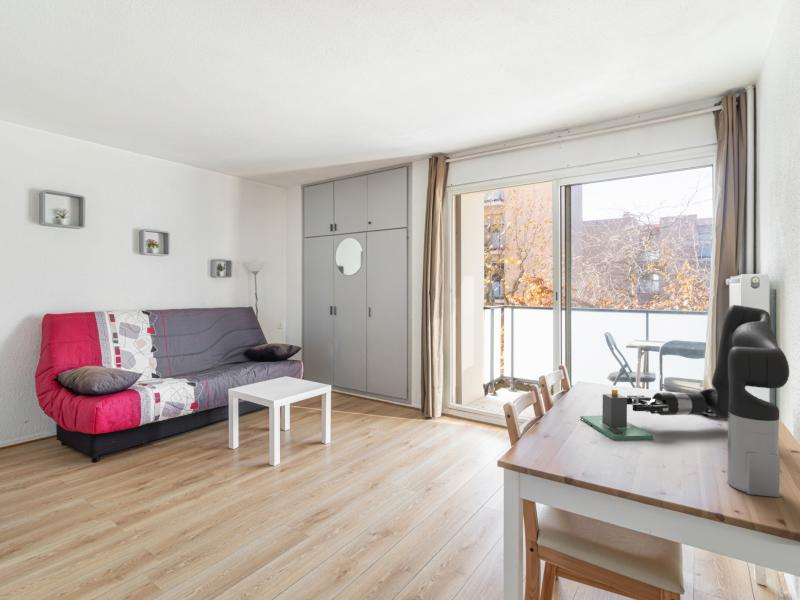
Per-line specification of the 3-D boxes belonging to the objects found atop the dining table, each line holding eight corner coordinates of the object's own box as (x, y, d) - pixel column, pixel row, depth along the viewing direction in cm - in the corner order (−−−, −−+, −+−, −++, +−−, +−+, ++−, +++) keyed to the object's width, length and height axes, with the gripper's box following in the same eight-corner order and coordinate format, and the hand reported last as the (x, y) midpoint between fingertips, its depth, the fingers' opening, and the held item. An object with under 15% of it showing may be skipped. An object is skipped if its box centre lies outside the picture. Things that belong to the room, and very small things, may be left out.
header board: (653, 439, 133) (653, 426, 133) (613, 440, 133) (613, 426, 132) (615, 418, 155) (615, 407, 155) (580, 419, 155) (580, 407, 154)
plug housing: (626, 427, 141) (627, 391, 141) (610, 427, 141) (611, 391, 141) (617, 422, 147) (617, 388, 146) (602, 422, 146) (602, 388, 146)
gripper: (658, 388, 152) (614, 388, 151) (687, 398, 137) (638, 398, 137) (658, 408, 152) (614, 409, 151) (686, 421, 138) (638, 421, 137)
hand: (625, 404), depth 144 cm, fingers open, 8 cm apart
